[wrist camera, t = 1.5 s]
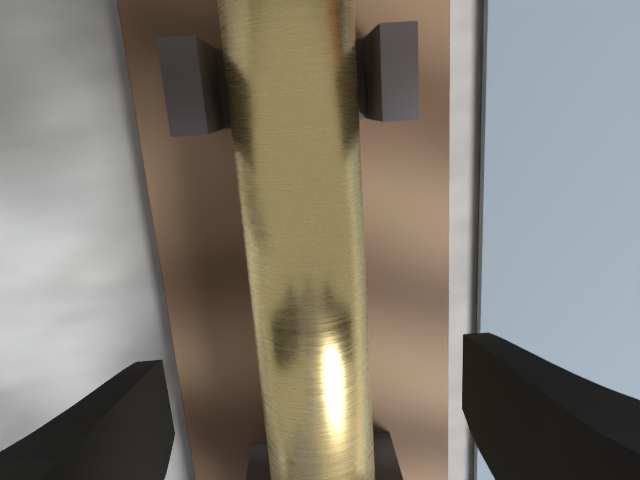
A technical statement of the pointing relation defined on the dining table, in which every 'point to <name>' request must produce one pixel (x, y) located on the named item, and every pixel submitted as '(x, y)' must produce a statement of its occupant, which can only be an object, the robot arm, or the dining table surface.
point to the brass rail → (303, 228)
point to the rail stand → (228, 240)
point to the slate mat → (562, 186)
